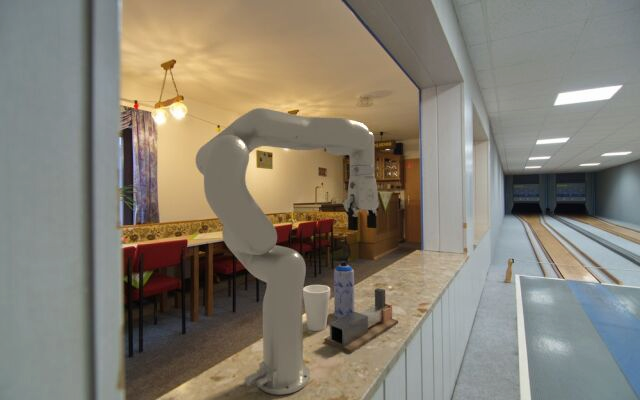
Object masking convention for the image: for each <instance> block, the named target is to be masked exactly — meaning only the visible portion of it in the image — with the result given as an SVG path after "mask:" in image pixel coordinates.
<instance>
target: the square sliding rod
mask: <svg viewBox="0 0 640 400" xmlns="http://www.w3.org/2000/svg"><path fill="white" fill-rule="evenodd" d="M385 303H386V289H384V288H377V287H376V288H375V289H374V305H375V306H374V305H373V306H374V307H372V306H371V307H372V308H371V307H370V308H368V309H366V310H364V311H362V312H360V314H363V315H367V316H368V328H369V327H371V326H372V325H374V324H376V323H378V322H379V321H381V320H383V310H385V309H387V308H388V306H385Z"/></svg>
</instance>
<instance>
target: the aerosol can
mask: <svg viewBox="0 0 640 400" xmlns="http://www.w3.org/2000/svg"><path fill="white" fill-rule="evenodd" d="M347 262H348V261H345V260H342V261H341V260H340V264H339V265H338V266H336V268H334V271H333V285H334V286H333V287H334V288H333V289H334V290H333V291H334V293H333V294H334V295H333V296H334V299H333V300H334V303H333V305H334V312H333V315H334V317H336V318H337V319H339V318H341V317H343V316H346V315H348V314H350V313H352V312H355V271H354V268H352V266H351V265H348V263H347Z"/></svg>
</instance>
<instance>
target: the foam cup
mask: <svg viewBox="0 0 640 400" xmlns="http://www.w3.org/2000/svg"><path fill="white" fill-rule="evenodd" d="M330 297H331V287H329V286H328V285H326V284H325V285H323V284H310V285H306V286H303V295H302V298H303V302H304V310H305V319H306V325H307V328H308V330H309V331H314V332H318V331H319V332H320V331H324V330H326V328H327V322H328V315H329V308H330V307H329V305H330Z"/></svg>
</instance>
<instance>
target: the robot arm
mask: <svg viewBox="0 0 640 400" xmlns="http://www.w3.org/2000/svg"><path fill="white" fill-rule="evenodd" d="M260 147H268V148H269V147H272V148H281V149H286V150H295V151H314V150H315V151H316V150H320V149H325V150H326V151H327V153H329V154H331V155H332V156H333V155H334V156H349V179H348V188H347V189H348V190H347V198H346V199H344V201H343V202H342V205H343V207H344V212H345V213H346V217H347V230H348V231H358V229H359V217H358V216H357V215H358V213H359V211H366V213H367V215H366V227H367V228H368V229H377V226H378V224H377V216H378V211H379V206H380V201H379V193H378V185H377V180H376V177H375V176H376V174H375V173H376V172H375V169H376V168H375V164H376V163H375V135H374V134H373V132H371V131H370V130H369V128H368V127H367V126H366V125H365V124H364V123H362V122H360V121H356V120H352V119H349V118H342V117H320V116H318V117H317V116H312V117H311V116H310V117H309V116H301V115H297V114H291V113H289V112H283V111H280V110H274V109H269V108H264V107H261V108H260V107H257V108H254V109H251V110H249V111H247V112H246V113H244V114H242V115H241V116H239V117H238V118H236V119H235V120H234V121H233V122H232V123H230V124H229V125H228V126H227V127H226V128H225V129H223V130H222V131H221V132H219V133H218V134H217V135H215V136H214V137H213V138H211V139H210V140H208V142H206V143H204V144H203V145H202V146H201V147H200V148H199V149H198V151H197V153H196V156H195V165H196V168H197V170H198V172H199V173H200V174H201V175H203V188H204V191H203V192H204V195H205V198H206V201H207V203H208V206H209V207H210V209H211V211H212V212H213V213H214V215H215V216H216V217H217V219H218V220H219V221H220V223H221V224H222V225H223V226H222V229H221V230H222V231H221V232H222V233H221V234H222V239H223V242H224V243H225V245H226V247H227V248H228V249H229V251H230V252H231V253H232V254H233V255H234V257H236V259H237V260H238V262H240V263H241V265H242V266H243V267H244V268H245V269H246V270H247V271H248V272H249V273H250V274H251V275H252V276H253V277H254V278H257V280H260V281H262V282H264V283H265V284H266V288H265V293H264V296H263V301H262V344H263V345H262V346H263V347H262V349H263V350H262V351H263V352H262V355H263V356H262V359H263V361H261V362H259V368H258V369H256V372H253V373H252V374H249V375H247V376H245V378H244V384H245V385H246V386H247V387H250V386H251V385H253V384H255V383H256V386H257V387H258V388H259V389H261V391H264V392H265V393H268V394H271V395H278V396H279V395H280V396H281V395H289V394H292V393H296V392H297V391H300V390H301V389H302V388H304V387H305V386H306V385H307V384H308V382H309V380H310V369H309V368H308V366H307V365H306V364H305V363H304V349H303V346H304V344H303V343H304V341H303V340H304V339H303V338H304V337H303V331H304V330H303V325H304V324H303V288H304V287H305V286H304V284H305V281H306V280H305V278H306V274H307V273H306V271H307V268H306V267H307V266H306V262H305V259H304V257H303V256H302V254H300V253H299V252H298V251H297V250H295V249H293V248H290V247H286V246H283V245H282V246H281V245H276V244H277V241H278V233H277V230H276V227H275V225H274V224H273V222H272V221H271V219H270V218H269V217H268V216H267V214H266V213H265V212H264V211H263V209H262V208H261V207H260V206H259V204H258V202H257V201H256V200H255V199H254V198H253V196H252V194H251V193H250V191H249V188H248V187H247V181H246V175H247V174H246V173H247V168H248V166H249V162H250V154H251V153H252V152H253V151H254V150H255V149H258V148H260Z"/></svg>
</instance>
